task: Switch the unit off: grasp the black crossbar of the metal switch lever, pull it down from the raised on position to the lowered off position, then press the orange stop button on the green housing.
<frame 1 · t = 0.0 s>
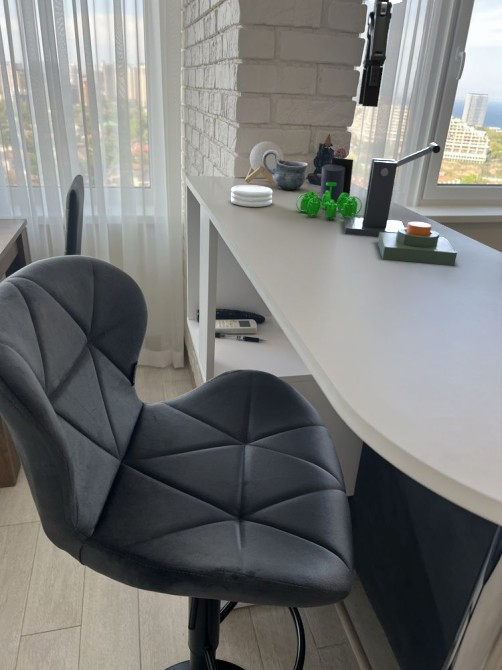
hand: (367, 105, 100), 23 cm above the table, tool pointing down, fingers open, 13 cm apart
stop box: (413, 253, 91), on the table
stop button: (418, 229, 89), point 4 cm above the table, slide at 0.1 cm
white stacked round discs: (251, 203, 123), on the table
mug: (283, 189, 143), on the table
switch lever: (406, 159, 98), point 14 cm above the table, hinge at 28.0°
speaker: (333, 201, 131), on the table
switch bracket: (373, 230, 105), on the table
chandelier: (327, 214, 116), on the table
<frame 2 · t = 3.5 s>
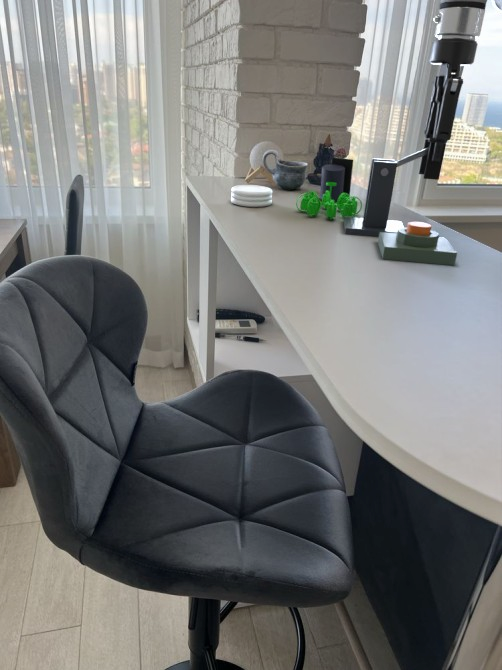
hand: (428, 176, 99), 11 cm above the table, tool pointing down, fingers closed on switch lever, 5 cm apart
switch lever: (406, 159, 98), point 14 cm above the table, hinge at 28.0°, touching gripper
everything else where it was.
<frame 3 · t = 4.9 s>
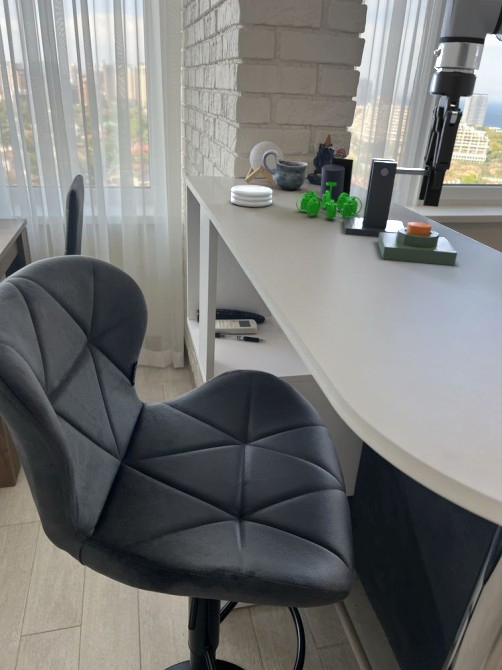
hand: (427, 202, 101), 6 cm above the table, tool pointing down, fingers closed on switch lever, 5 cm apart
switch lever: (407, 171, 99), point 12 cm above the table, hinge at 0.9°, touching gripper
everything else where it was.
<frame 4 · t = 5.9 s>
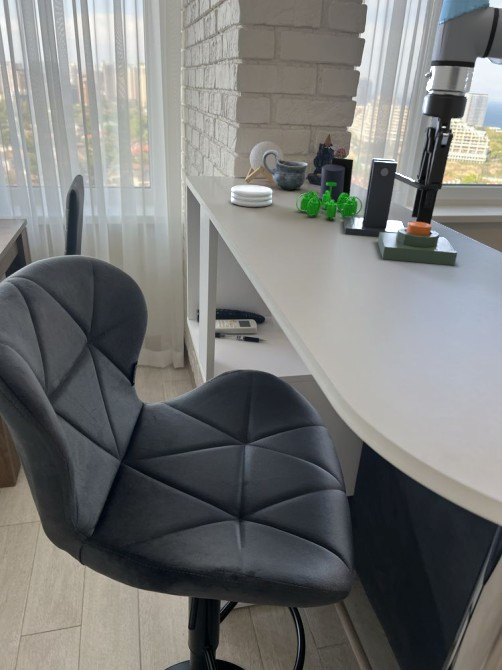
hand: (420, 220, 103), 3 cm above the table, tool pointing down, fingers closed on switch lever, 5 cm apart
switch lever: (404, 179, 100), point 11 cm above the table, hinge at -18.8°, touching gripper
everything else where it was.
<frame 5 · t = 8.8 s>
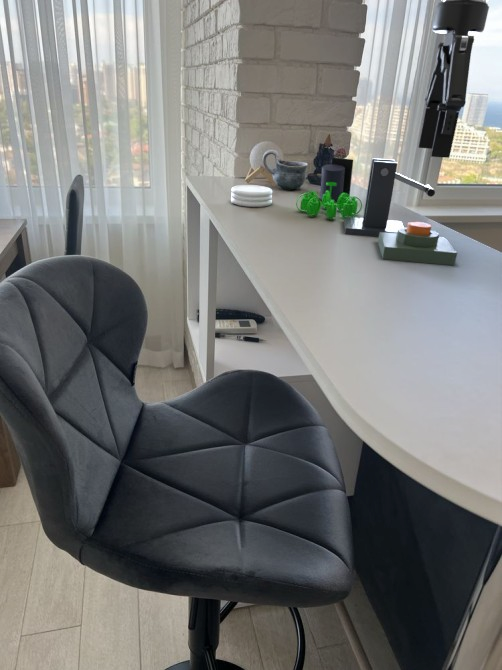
hand: (432, 152, 85), 17 cm above the table, tool pointing down, fingers open, 13 cm apart
switch lever: (404, 179, 100), point 10 cm above the table, hinge at -18.9°
everything else where it was.
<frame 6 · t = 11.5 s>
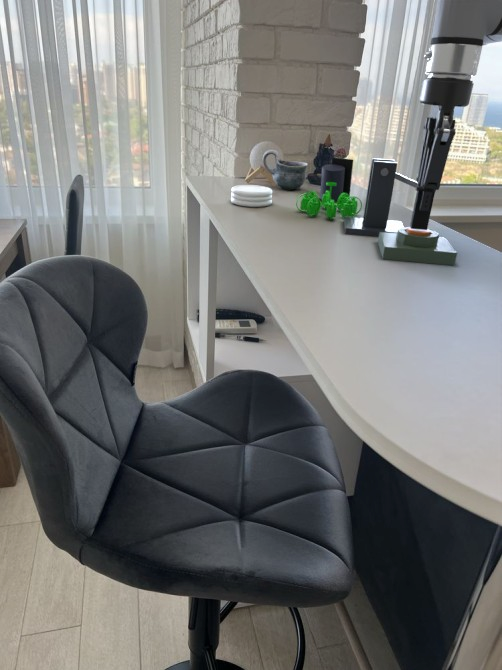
hand: (418, 228, 89), 5 cm above the table, tool pointing down, fingers closed
stop button: (417, 234, 89), point 4 cm above the table, slide at -0.8 cm, touching gripper
everything else where it was.
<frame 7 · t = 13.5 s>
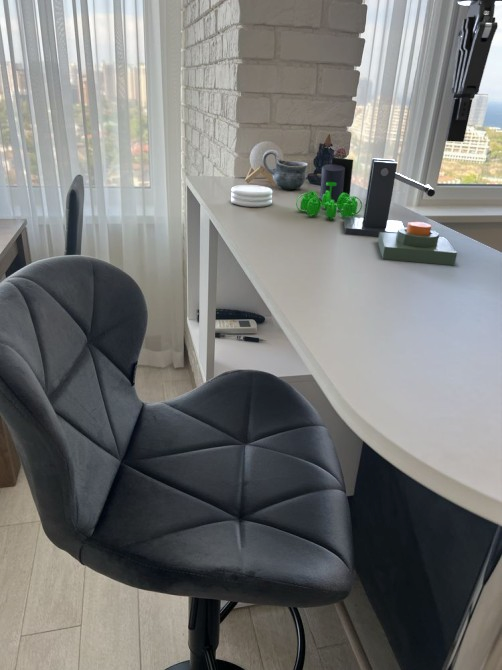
hand: (454, 141, 86), 19 cm above the table, tool pointing down, fingers closed
stop button: (418, 229, 89), point 4 cm above the table, slide at 0.1 cm
everything else where it was.
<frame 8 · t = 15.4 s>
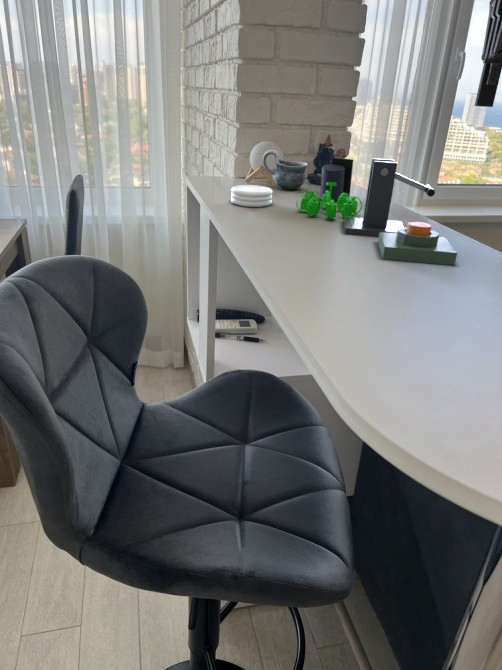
hand: (483, 106, 89), 24 cm above the table, tool pointing down, fingers closed
nothing on the table moved.
at the end: switch lever at -19° (first picture: +28°); stop button pushed in 1.0 cm at the most during the clip, back to where it started at the end; stop button slide at 0.1 cm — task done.
